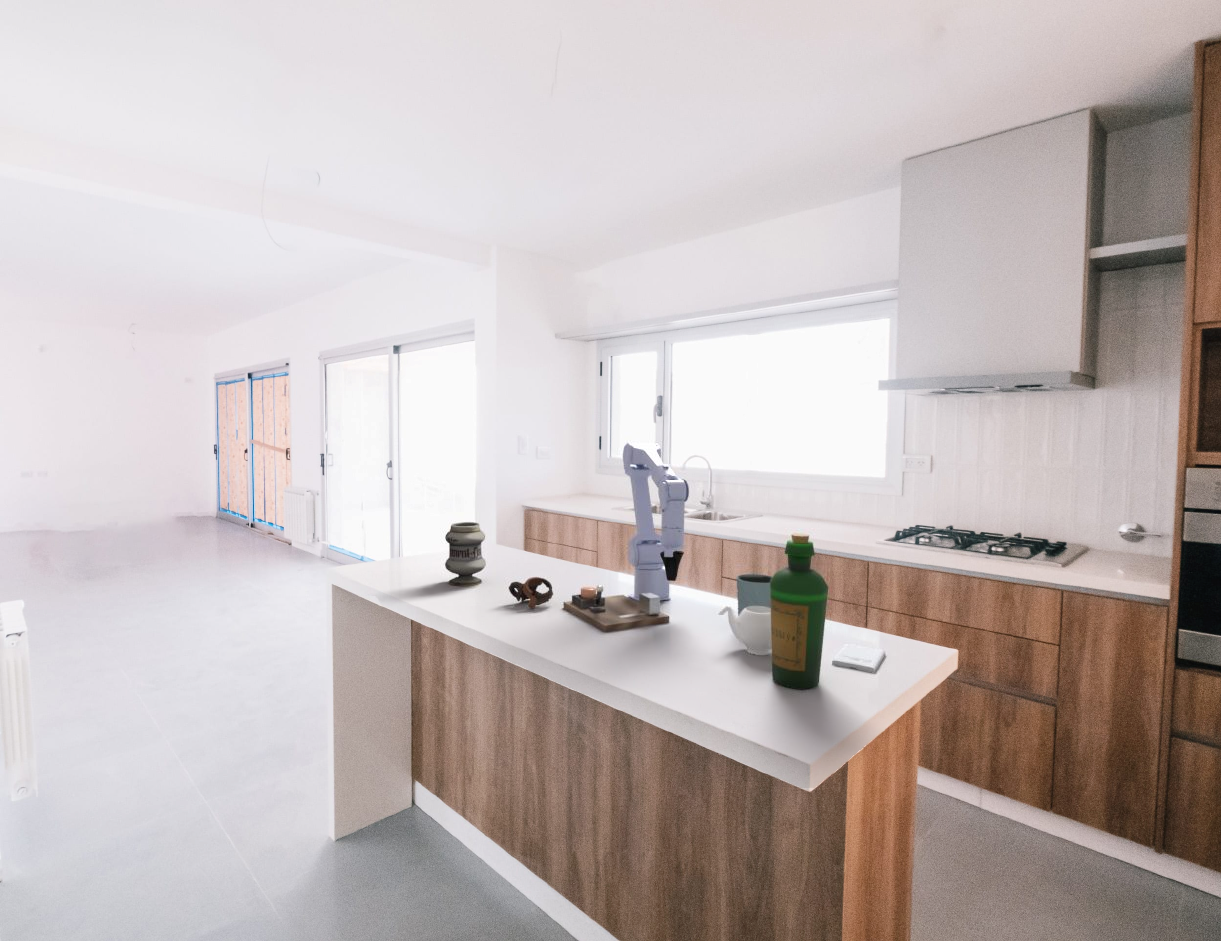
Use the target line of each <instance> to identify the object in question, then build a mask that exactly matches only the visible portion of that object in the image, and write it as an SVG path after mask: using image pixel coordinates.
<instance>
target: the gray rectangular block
mask: <svg viewBox="0 0 1221 941" xmlns="http://www.w3.org/2000/svg"><path fill="white" fill-rule="evenodd" d="M638 602H639V610H640V611H642V612H644V613H646V614H648V615H654V614H660V612H661V609H660V608H661V601H660V597H659V596H657V595H654V594H652V593H650V592H648V593H640V594H639V601H638Z"/></svg>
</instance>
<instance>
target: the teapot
mask: <svg viewBox="0 0 1221 941" xmlns="http://www.w3.org/2000/svg"><path fill="white" fill-rule="evenodd" d="M726 613H727V618H728V623H729V624H728V625H729V627H730V629H731V632H732V634H733V635H734V637H735V638H736V639H737V640H738V641H739V643H741V644H743V645H744V646H745V647H746V652H747V653H749V654H750V653H751V655H753V654H755V655H754V656H767V655H766V654H768V655H769V654H770V650H772V644H771V608H768V607H764V606H748V607H746V608H744V609H743V610H742V612H741V613H740V615H739V616H738V615H736V614H735V612H734V610H733V608H732V607H731V606H730V605H727V606H725V607H724V608H723V609H722V610H720V611H719V612H718V615H719V616H720V615H721V616H723V615H724V614H726Z"/></svg>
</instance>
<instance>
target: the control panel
mask: <svg viewBox="0 0 1221 941" xmlns="http://www.w3.org/2000/svg"><path fill="white" fill-rule="evenodd" d="M596 595H597V593H596ZM595 602H596V598H594V599H586V600H584V599H582V598H581V593H578V594H572V595H571V600H570V601H564V602H563V609H565V610H567V611H569V612H571V613H572V614H573V615H575V616H577V617H579V618H580V619H582V620H584V621H585V622H586V623H589V624H590V625H592V626H594V627H596V628H597V629H599V630H601V631H603V632H605V633H607V632H614V631H620V630H628V629H632V628H639V627H645V626H654V625H660V624H666V622H667V623H670V615H668V614H665V613H663V612H661V611H660V614H654V615H648V614H646V613H644V612H642V611H640V610H639V601H637V600H635V599H633V598H630V597H628V596H626V595H624V594H618V595H611V596H604V597H603V596H601V601H600V603H601V604H602V606H601V607H593V604H596V603H595Z"/></svg>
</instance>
